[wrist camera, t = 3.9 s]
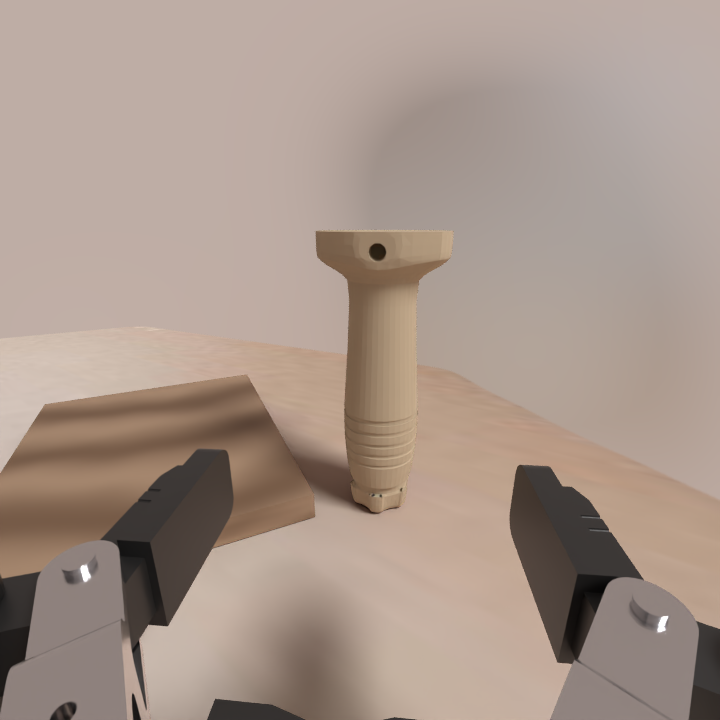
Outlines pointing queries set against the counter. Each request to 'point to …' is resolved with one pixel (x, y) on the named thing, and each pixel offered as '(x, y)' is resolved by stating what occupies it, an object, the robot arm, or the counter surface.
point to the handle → (382, 351)
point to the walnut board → (141, 466)
